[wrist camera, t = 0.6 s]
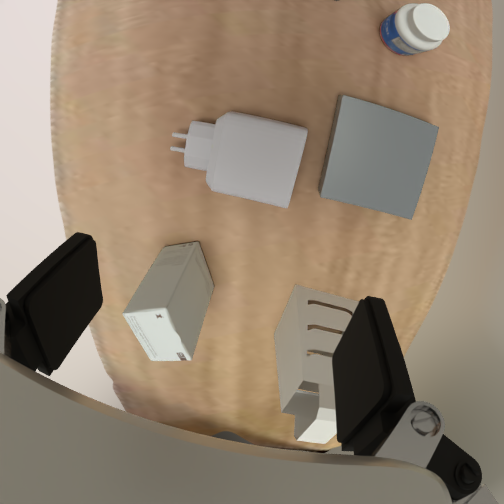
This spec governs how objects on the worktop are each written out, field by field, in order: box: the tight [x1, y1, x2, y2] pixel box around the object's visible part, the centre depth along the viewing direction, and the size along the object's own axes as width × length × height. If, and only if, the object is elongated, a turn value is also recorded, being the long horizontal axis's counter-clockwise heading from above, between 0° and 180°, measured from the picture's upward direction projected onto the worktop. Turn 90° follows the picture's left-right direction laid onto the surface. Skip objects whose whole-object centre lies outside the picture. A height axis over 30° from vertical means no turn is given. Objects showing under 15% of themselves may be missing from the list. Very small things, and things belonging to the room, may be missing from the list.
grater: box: [274, 284, 359, 444], centre depth 37 cm, size 10×10×20 cm
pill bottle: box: [380, 3, 450, 56], centre depth 21 cm, size 6×5×10 cm
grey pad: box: [318, 95, 439, 220], centre depth 32 cm, size 12×12×3 cm
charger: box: [170, 111, 308, 208], centre depth 33 cm, size 5×9×15 cm
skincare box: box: [123, 242, 214, 361], centre depth 38 cm, size 8×6×15 cm
